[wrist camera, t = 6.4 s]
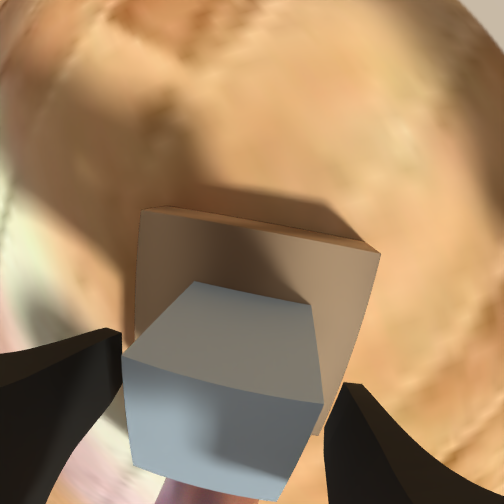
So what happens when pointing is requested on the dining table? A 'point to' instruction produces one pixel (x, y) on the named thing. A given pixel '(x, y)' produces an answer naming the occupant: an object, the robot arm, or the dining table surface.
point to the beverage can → (196, 495)
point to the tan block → (259, 275)
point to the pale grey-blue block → (224, 391)
